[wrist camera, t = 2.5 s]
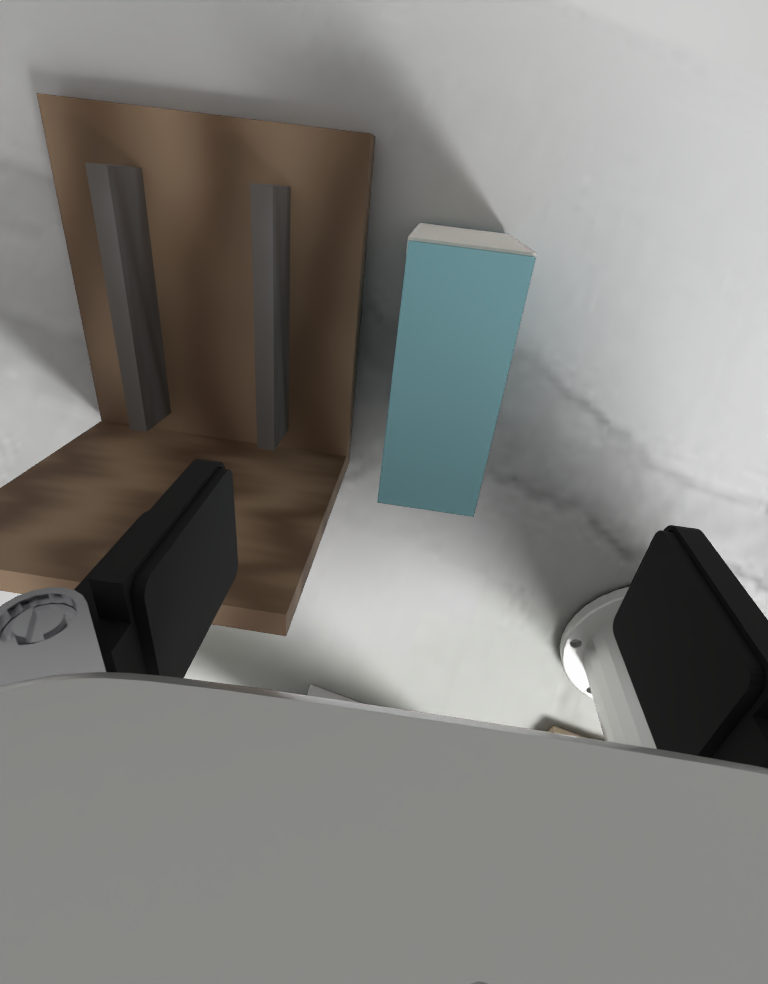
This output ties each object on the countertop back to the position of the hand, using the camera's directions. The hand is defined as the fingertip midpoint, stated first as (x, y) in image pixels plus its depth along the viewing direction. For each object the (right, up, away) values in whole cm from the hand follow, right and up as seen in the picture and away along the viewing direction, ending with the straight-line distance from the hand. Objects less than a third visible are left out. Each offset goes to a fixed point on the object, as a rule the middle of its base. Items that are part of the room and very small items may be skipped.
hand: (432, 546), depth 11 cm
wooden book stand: (-10, +12, +18) cm, 24 cm away
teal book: (+3, +10, +18) cm, 21 cm away
